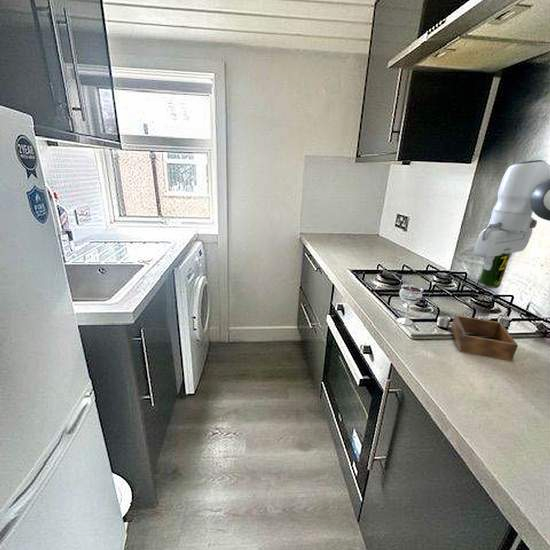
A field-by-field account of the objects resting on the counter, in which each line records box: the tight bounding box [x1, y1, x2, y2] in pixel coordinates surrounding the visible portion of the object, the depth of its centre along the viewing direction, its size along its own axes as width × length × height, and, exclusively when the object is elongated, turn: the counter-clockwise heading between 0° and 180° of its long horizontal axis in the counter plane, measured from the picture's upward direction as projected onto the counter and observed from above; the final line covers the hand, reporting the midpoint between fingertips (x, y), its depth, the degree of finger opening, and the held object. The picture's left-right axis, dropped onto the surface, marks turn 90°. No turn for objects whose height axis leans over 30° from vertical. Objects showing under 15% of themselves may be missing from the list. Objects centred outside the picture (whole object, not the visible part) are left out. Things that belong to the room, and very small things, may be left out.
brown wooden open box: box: [450, 314, 518, 362], centre depth 88 cm, size 13×13×5 cm
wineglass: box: [396, 283, 424, 326], centre depth 97 cm, size 7×7×12 cm
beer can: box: [478, 249, 511, 289], centre depth 90 cm, size 5×5×12 cm
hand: (494, 268), depth 90 cm, fingers closed on beer can, 5 cm apart
